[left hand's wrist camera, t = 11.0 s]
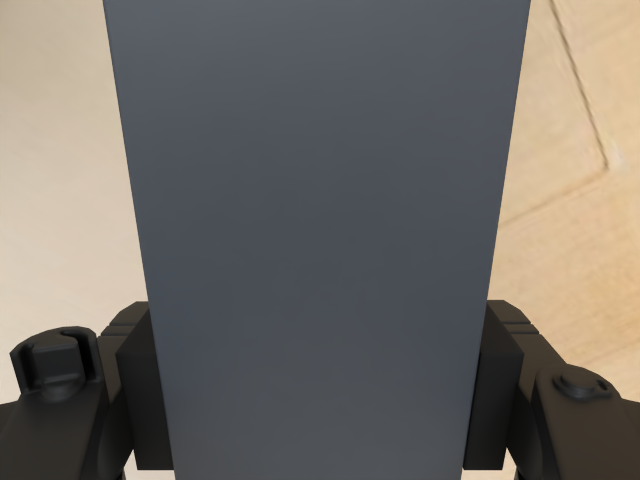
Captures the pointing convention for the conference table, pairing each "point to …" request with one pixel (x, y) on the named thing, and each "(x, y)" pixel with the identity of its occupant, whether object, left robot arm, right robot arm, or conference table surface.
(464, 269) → the bar
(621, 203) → the conference table surface
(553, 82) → the conference table surface
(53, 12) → the conference table surface
